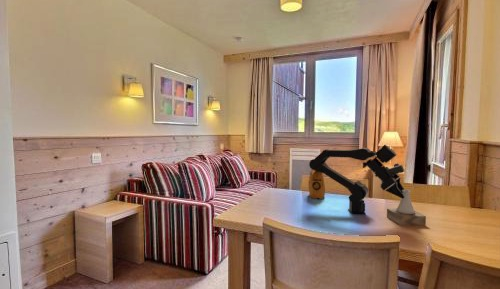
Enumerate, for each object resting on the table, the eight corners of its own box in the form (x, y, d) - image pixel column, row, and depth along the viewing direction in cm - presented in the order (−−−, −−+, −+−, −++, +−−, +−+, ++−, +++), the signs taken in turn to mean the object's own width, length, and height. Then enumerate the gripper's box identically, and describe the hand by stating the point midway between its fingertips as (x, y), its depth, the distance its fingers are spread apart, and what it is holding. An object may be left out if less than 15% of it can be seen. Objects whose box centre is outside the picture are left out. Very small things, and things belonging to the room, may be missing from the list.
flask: (392, 211, 119) (393, 189, 119) (402, 208, 123) (402, 188, 122) (408, 215, 113) (409, 193, 112) (418, 213, 117) (419, 191, 116)
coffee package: (307, 198, 157) (308, 162, 155) (308, 193, 169) (309, 159, 167) (324, 199, 154) (325, 162, 153) (324, 194, 166) (325, 160, 165)
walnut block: (400, 225, 113) (400, 216, 112) (386, 216, 124) (387, 208, 123) (425, 225, 113) (425, 216, 112) (409, 216, 124) (410, 208, 123)
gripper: (390, 160, 112) (419, 188, 107) (395, 156, 127) (421, 181, 122) (369, 176, 117) (396, 204, 112) (377, 170, 133) (401, 195, 127)
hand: (404, 195), depth 118 cm, fingers open, 9 cm apart
